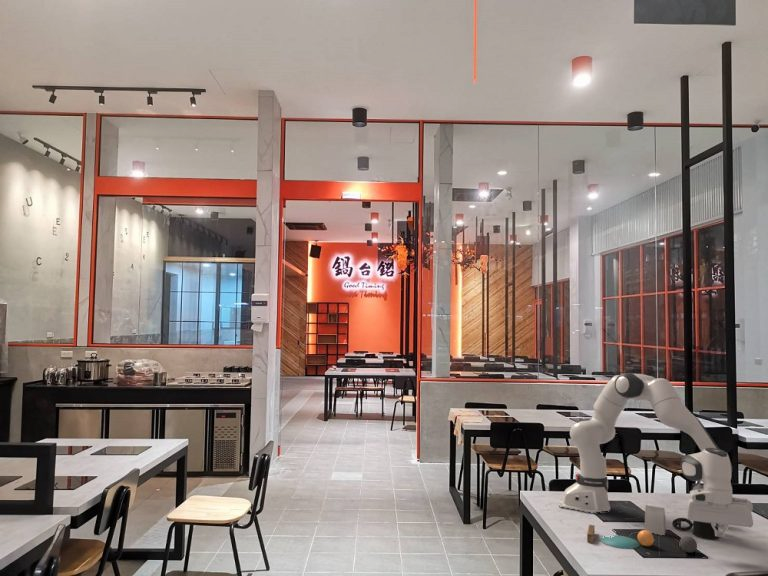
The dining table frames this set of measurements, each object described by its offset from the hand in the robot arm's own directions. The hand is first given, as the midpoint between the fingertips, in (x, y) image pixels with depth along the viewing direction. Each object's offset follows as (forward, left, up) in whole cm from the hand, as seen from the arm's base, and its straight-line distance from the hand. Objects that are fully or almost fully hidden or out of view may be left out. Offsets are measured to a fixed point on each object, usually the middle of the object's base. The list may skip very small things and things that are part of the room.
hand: (719, 536), depth 199 cm
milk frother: (-5, +25, -7) cm, 27 cm away
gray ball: (-10, 0, -4) cm, 11 cm away
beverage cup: (-1, +42, -7) cm, 43 cm away
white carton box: (-20, +18, -7) cm, 28 cm away
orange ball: (-24, 0, -4) cm, 24 cm away
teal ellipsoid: (-33, 0, -7) cm, 34 cm away
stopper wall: (-43, 0, -7) cm, 43 cm away
